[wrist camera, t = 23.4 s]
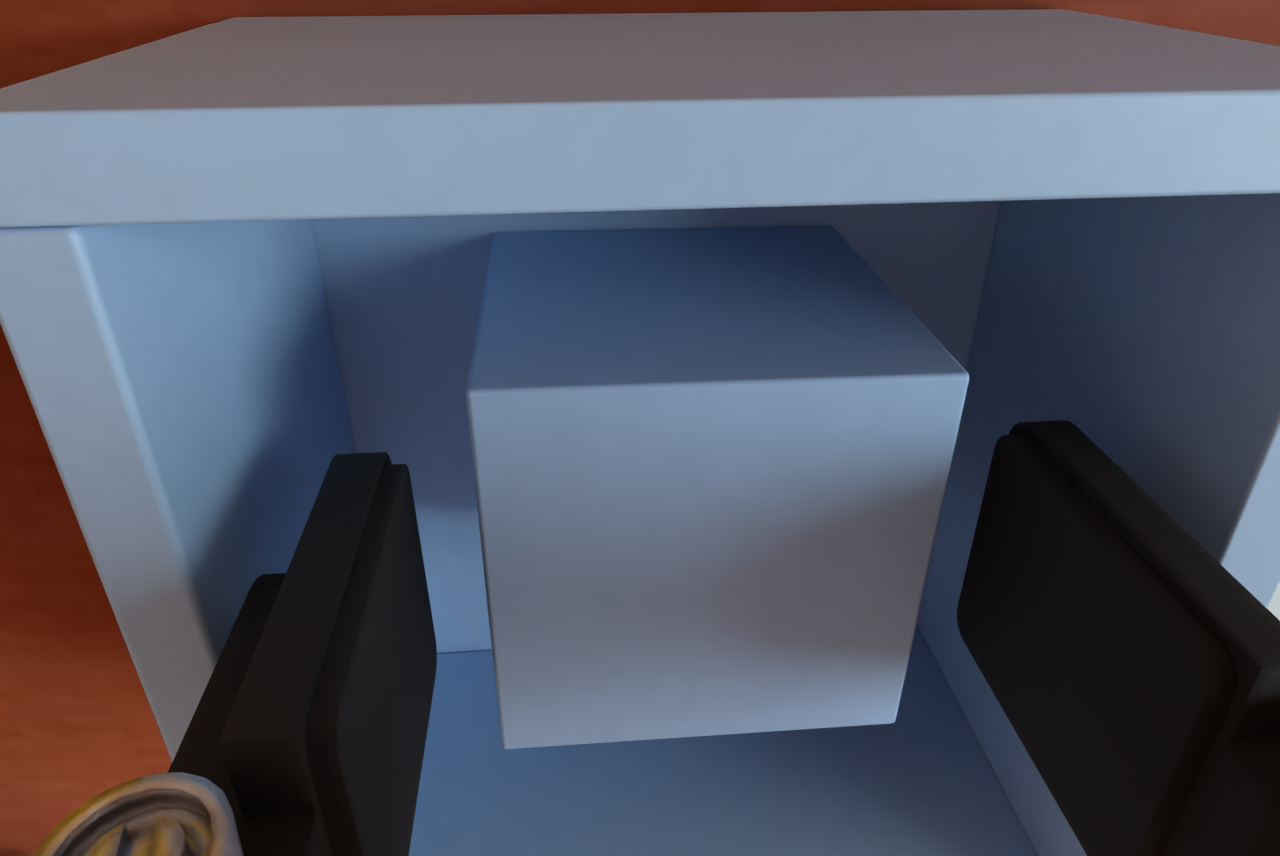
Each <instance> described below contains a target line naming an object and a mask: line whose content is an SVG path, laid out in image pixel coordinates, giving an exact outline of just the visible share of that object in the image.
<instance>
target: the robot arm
mask: <svg viewBox="0 0 1280 856" xmlns="http://www.w3.org/2000/svg"><path fill="white" fill-rule="evenodd" d="M957 623H958V628H959V632H960V635H961V637H962V639H963V641H964V643H965V645H966V646H967V648H968V650H969V652H970V653H971V655H972V657H973V659H974V660H975V662H976V664H977V665H978V667H979V669H980V671H981V672H982V674H983V676H984V678H985V679H986V681H987V683H988V685H989V686H990V688H991V690H992V692H993V693H994V695H995V697H996V698H997V700H998V702H999V704H1000V705H1001V707H1002V709H1003V711H1004V712H1005V714H1006V716H1007V718H1008V719H1009V721H1010V723H1011V724H1012V726H1013V728H1014V730H1015V731H1016V733H1017V735H1018V737H1019V738H1020V740H1021V742H1022V744H1023V745H1024V747H1025V749H1026V750H1027V752H1028V754H1029V756H1030V757H1031V759H1032V761H1033V763H1034V764H1035V766H1036V768H1037V770H1038V771H1039V773H1040V775H1041V777H1042V778H1043V780H1044V782H1045V783H1046V785H1047V787H1048V789H1049V790H1050V792H1051V794H1052V796H1053V797H1054V799H1055V801H1056V803H1057V804H1058V806H1059V808H1060V809H1061V811H1062V813H1063V815H1064V816H1065V818H1066V820H1067V822H1068V823H1069V825H1070V827H1071V829H1072V830H1073V832H1074V834H1075V835H1076V837H1077V839H1078V841H1079V842H1080V844H1081V846H1082V848H1083V849H1084V851H1085V853H1086V855H1087V856H1280V621H1279V620H1278V619H1277V618H1276V617H1275V616H1274V615H1273V614H1272V613H1271V612H1270V611H1269V610H1268V609H1267V608H1266V607H1265V606H1264V605H1263V604H1262V603H1260V602H1259V601H1258V600H1257V599H1256V598H1255V597H1254V596H1253V595H1252V594H1251V593H1250V592H1249V591H1248V590H1247V589H1246V588H1245V587H1244V586H1243V585H1242V584H1241V583H1240V582H1239V581H1238V580H1236V579H1235V578H1234V577H1233V576H1232V575H1231V574H1230V573H1229V572H1228V571H1227V570H1226V569H1225V568H1224V567H1223V566H1222V565H1221V564H1220V563H1219V562H1218V561H1217V560H1216V559H1215V558H1214V557H1212V556H1211V555H1210V554H1209V553H1208V552H1207V551H1206V550H1205V549H1204V548H1203V547H1202V546H1201V545H1200V544H1199V543H1198V542H1197V541H1196V540H1195V539H1194V538H1193V537H1192V536H1191V535H1190V534H1188V533H1187V532H1186V531H1185V530H1184V529H1183V528H1182V527H1181V526H1180V525H1179V524H1178V523H1177V522H1176V521H1175V520H1174V519H1173V518H1172V517H1171V516H1170V515H1169V514H1168V513H1167V512H1166V511H1164V510H1163V509H1162V508H1161V507H1160V506H1159V505H1158V504H1157V503H1156V502H1155V501H1154V500H1153V499H1152V498H1151V497H1150V496H1149V495H1148V494H1147V493H1146V492H1145V491H1144V490H1143V489H1142V488H1140V487H1139V486H1138V485H1137V484H1136V483H1135V482H1134V481H1133V480H1132V479H1131V478H1130V477H1129V476H1128V475H1127V474H1126V473H1125V472H1124V471H1123V470H1122V469H1121V468H1120V467H1119V466H1118V465H1116V464H1115V463H1114V462H1113V461H1112V460H1111V459H1110V458H1109V457H1108V456H1107V455H1106V454H1105V453H1104V452H1103V451H1102V450H1101V449H1100V448H1099V447H1098V446H1097V445H1096V444H1095V443H1094V442H1092V441H1091V440H1090V439H1089V438H1088V437H1087V436H1086V435H1085V434H1084V433H1083V432H1082V431H1081V430H1080V429H1079V428H1078V427H1077V426H1076V425H1075V424H1073V423H1072V422H1070V421H1067V420H1055V421H1035V422H1019V423H1017V424H1015V425H1014V426H1013V428H1012V429H1011V430H1010V432H1009V435H1003V436H1001V437H1000V438H999V439H998V440H997V442H996V445H995V448H994V452H993V456H992V460H991V465H990V469H989V473H988V478H987V482H986V486H985V490H984V495H983V499H982V503H981V508H980V512H979V516H978V520H977V525H976V529H975V533H974V538H973V542H972V546H971V551H970V555H969V559H968V563H967V568H966V572H965V576H964V581H963V585H962V589H961V593H960V598H959V602H958V607H957ZM436 668H437V648H436V638H435V632H434V625H433V619H432V613H431V606H430V600H429V593H428V587H427V581H426V574H425V568H424V562H423V555H422V549H421V542H420V536H419V530H418V523H417V517H416V511H415V504H414V498H413V491H412V485H411V479H410V473H409V469H408V466H407V465H406V464H392V463H391V460H390V457H389V455H388V453H387V452H374V453H353V454H337V455H334V457H333V459H332V460H331V463H330V465H329V468H328V470H327V473H326V475H325V478H324V480H323V483H322V485H321V488H320V490H319V493H318V495H317V498H316V500H315V503H314V505H313V508H312V510H311V513H310V515H309V518H308V520H307V522H306V525H305V527H304V530H303V532H302V535H301V537H300V540H299V542H298V545H297V547H296V550H295V552H294V555H293V557H292V560H291V562H290V565H289V567H288V570H287V572H286V573H275V574H262V575H261V576H259V577H258V578H256V580H255V581H254V583H253V584H252V586H251V588H250V590H249V592H248V594H247V596H246V599H245V601H244V603H243V605H242V608H241V610H240V612H239V614H238V617H237V619H236V621H235V623H234V626H233V628H232V630H231V632H230V635H229V637H228V639H227V641H226V643H225V646H224V648H223V650H222V652H221V655H220V657H219V659H218V661H217V664H216V666H215V668H214V670H213V673H212V675H211V677H210V679H209V681H208V684H207V686H206V688H205V690H204V693H203V695H202V697H201V699H200V702H199V704H198V706H197V708H196V711H195V713H194V715H193V717H192V720H191V722H190V724H189V726H188V728H187V731H186V733H185V735H184V737H183V740H182V742H181V744H180V746H179V749H178V751H177V753H176V755H175V758H174V760H173V762H172V764H171V766H170V769H169V771H168V773H156V774H150V775H147V776H143V777H140V778H136V779H133V780H129V781H126V782H122V783H120V784H118V785H116V786H114V787H112V788H110V789H108V790H106V791H104V792H102V793H100V794H98V795H96V796H94V797H92V798H91V799H89V800H88V801H87V802H85V803H84V804H83V805H81V806H80V807H79V808H77V809H76V810H75V811H73V812H72V813H70V814H69V815H68V816H66V817H65V818H64V819H63V820H62V821H61V822H60V823H59V824H58V825H57V826H56V827H55V828H54V829H53V830H52V832H51V833H50V834H49V835H48V836H47V837H46V838H45V839H44V840H43V841H42V842H41V843H40V845H39V846H38V848H37V850H36V852H35V853H34V855H33V856H409V850H410V843H411V836H412V830H413V823H414V816H415V810H416V803H417V796H418V790H419V783H420V777H421V770H422V763H423V757H424V750H425V743H426V737H427V730H428V723H429V717H430V710H431V703H432V697H433V690H434V683H435V677H436Z"/></svg>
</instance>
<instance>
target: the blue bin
mask: <svg viewBox="0 0 1280 856" xmlns="http://www.w3.org/2000/svg"><path fill="white" fill-rule="evenodd" d="M791 226H832V227H834V228H835V229H836V231H837V232H838V233H839V234H840V235H841V236H842V237H843V238H844V239H845V240H846V241H847V242H848V243H849V245H850V246H851V247H852V248H853V249H854V250H855V251H856V252H857V253H858V254H859V255H860V256H861V258H862V259H863V260H864V261H865V262H866V263H867V264H868V265H869V266H870V267H871V268H872V269H873V271H874V272H875V273H876V274H877V275H878V276H879V277H880V278H881V279H882V280H883V281H884V282H885V283H886V285H887V286H888V287H889V288H890V289H891V290H892V291H893V292H894V293H895V294H896V295H897V296H898V298H899V299H900V300H901V301H902V302H903V303H904V304H905V305H906V306H907V307H908V308H909V309H910V311H911V312H912V313H913V314H914V315H915V316H916V317H917V318H918V319H919V320H920V321H921V322H922V323H923V325H924V326H925V327H926V328H927V329H928V330H929V331H930V332H931V333H932V334H933V335H934V336H935V338H936V339H937V340H938V341H939V342H940V343H941V344H942V345H943V346H944V347H945V348H946V349H947V351H948V352H949V353H950V354H951V355H952V356H953V357H954V358H955V359H956V360H957V361H958V362H959V364H960V365H961V366H962V367H963V368H964V369H965V370H966V371H967V372H968V374H969V383H968V387H967V392H966V397H965V401H964V406H963V410H962V415H961V420H960V424H959V429H958V434H957V438H956V443H955V447H954V452H953V457H952V461H951V466H950V471H949V475H948V480H947V485H946V489H945V494H944V498H943V503H942V508H941V512H940V517H939V522H938V526H937V531H936V535H935V540H934V545H933V549H932V554H931V559H930V563H929V568H928V572H927V577H926V582H925V586H924V591H923V596H922V600H921V605H920V610H919V614H918V619H917V623H916V628H915V633H914V637H913V642H912V647H911V651H910V656H909V660H908V665H907V670H906V674H905V679H904V684H903V688H902V693H901V697H900V702H899V707H898V711H897V716H896V721H895V722H894V723H892V724H877V725H862V726H847V727H832V728H817V729H802V730H787V731H772V732H757V733H742V734H727V735H713V736H698V737H683V738H668V739H653V740H638V741H623V742H608V743H593V744H578V745H563V746H548V747H533V748H518V749H504V748H503V746H502V743H501V733H500V723H499V713H498V704H497V694H496V684H495V675H494V665H493V655H492V645H491V636H490V626H489V616H488V607H487V597H486V587H485V577H484V568H483V558H482V548H481V539H480V529H479V519H478V509H477V500H476V490H475V480H474V471H473V461H472V451H471V441H470V432H469V422H468V412H467V403H466V390H467V384H468V378H469V372H470V367H471V361H472V355H473V350H474V344H475V338H476V333H477V327H478V321H479V315H480V310H481V304H482V298H483V293H484V287H485V281H486V275H487V270H488V264H489V258H490V253H491V247H492V241H493V236H494V234H495V233H497V232H542V231H592V230H642V229H691V228H741V227H791ZM0 324H1V327H2V329H3V332H4V334H5V337H6V340H7V342H8V345H9V347H10V350H11V352H12V355H13V357H14V360H15V362H16V365H17V368H18V370H19V373H20V375H21V378H22V380H23V383H24V385H25V388H26V391H27V393H28V396H29V398H30V401H31V403H32V406H33V408H34V411H35V413H36V416H37V419H38V421H39V424H40V426H41V429H42V431H43V434H44V436H45V439H46V441H47V444H48V447H49V449H50V452H51V454H52V457H53V459H54V462H55V464H56V467H57V470H58V472H59V475H60V477H61V480H62V482H63V485H64V487H65V490H66V492H67V495H68V498H69V500H70V503H71V505H72V508H73V510H74V513H75V515H76V518H77V520H78V523H79V526H80V528H81V531H82V533H83V536H84V538H85V541H86V543H87V546H88V549H89V551H90V554H91V556H92V559H93V561H94V564H95V566H96V569H97V571H98V574H99V577H100V579H101V582H102V584H103V587H104V589H105V592H106V594H107V597H108V599H109V602H110V605H111V607H112V610H113V612H114V615H115V617H116V620H117V622H118V625H119V628H120V630H121V633H122V635H123V638H124V640H125V643H126V645H127V648H128V650H129V653H130V656H131V658H132V661H133V663H134V666H135V668H136V671H137V673H138V676H139V678H140V681H141V684H142V686H143V689H144V691H145V694H146V696H147V699H148V701H149V704H150V707H151V709H152V712H153V714H154V717H155V719H156V722H157V724H158V727H159V729H160V732H161V735H162V737H163V740H164V742H165V745H166V747H167V750H168V752H169V755H170V757H171V760H172V762H173V760H174V758H175V755H176V753H177V751H178V749H179V746H180V744H181V742H182V740H183V737H184V735H185V733H186V731H187V728H188V726H189V724H190V722H191V720H192V717H193V715H194V713H195V711H196V708H197V706H198V704H199V702H200V699H201V697H202V695H203V693H204V690H205V688H206V686H207V684H208V681H209V679H210V677H211V675H212V673H213V670H214V668H215V666H216V664H217V661H218V659H219V657H220V655H221V652H222V650H223V648H224V646H225V643H226V641H227V639H228V637H229V635H230V632H231V630H232V628H233V626H234V623H235V621H236V619H237V617H238V614H239V612H240V610H241V608H242V605H243V603H244V601H245V599H246V596H247V594H248V592H249V590H250V588H251V586H252V584H253V583H254V581H255V580H256V578H258V577H259V576H261V575H262V574H275V573H286V572H287V570H288V567H289V565H290V562H291V560H292V557H293V555H294V552H295V550H296V547H297V545H298V542H299V540H300V537H301V535H302V532H303V530H304V527H305V525H306V522H307V520H308V518H309V515H310V513H311V510H312V508H313V505H314V503H315V500H316V498H317V495H318V493H319V490H320V488H321V485H322V483H323V480H324V478H325V475H326V473H327V470H328V468H329V465H330V463H331V460H332V459H333V457H334V455H337V454H353V453H374V452H387V453H388V455H389V457H390V460H391V463H392V464H406V465H407V466H408V469H409V473H410V479H411V485H412V491H413V498H414V504H415V511H416V517H417V523H418V530H419V536H420V542H421V549H422V555H423V562H424V568H425V574H426V581H427V587H428V593H429V600H430V606H431V613H432V619H433V625H434V632H435V638H436V648H437V668H436V677H435V683H434V690H433V697H432V703H431V710H430V717H429V723H428V730H427V737H426V743H425V750H424V757H423V763H422V770H421V777H420V783H419V790H418V796H417V803H416V810H415V816H414V823H413V830H412V836H411V843H410V850H409V856H1087V855H1086V853H1085V851H1084V849H1083V848H1082V846H1081V844H1080V842H1079V841H1078V839H1077V837H1076V835H1075V834H1074V832H1073V830H1072V829H1071V827H1070V825H1069V823H1068V822H1067V820H1066V818H1065V816H1064V815H1063V813H1062V811H1061V809H1060V808H1059V806H1058V804H1057V803H1056V801H1055V799H1054V797H1053V796H1052V794H1051V792H1050V790H1049V789H1048V787H1047V785H1046V783H1045V782H1044V780H1043V778H1042V777H1041V775H1040V773H1039V771H1038V770H1037V768H1036V766H1035V764H1034V763H1033V761H1032V759H1031V757H1030V756H1029V754H1028V752H1027V750H1026V749H1025V747H1024V745H1023V744H1022V742H1021V740H1020V738H1019V737H1018V735H1017V733H1016V731H1015V730H1014V728H1013V726H1012V724H1011V723H1010V721H1009V719H1008V718H1007V716H1006V714H1005V712H1004V711H1003V709H1002V707H1001V705H1000V704H999V702H998V700H997V698H996V697H995V695H994V693H993V692H992V690H991V688H990V686H989V685H988V683H987V681H986V679H985V678H984V676H983V674H982V672H981V671H980V669H979V667H978V665H977V664H976V662H975V660H974V659H973V657H972V655H971V653H970V652H969V650H968V648H967V646H966V645H965V643H964V641H963V639H962V637H961V635H960V632H959V628H958V623H957V607H958V602H959V598H960V593H961V589H962V585H963V581H964V576H965V572H966V568H967V563H968V559H969V555H970V551H971V546H972V542H973V538H974V533H975V529H976V525H977V520H978V516H979V512H980V508H981V503H982V499H983V495H984V490H985V486H986V482H987V478H988V473H989V469H990V465H991V460H992V456H993V452H994V448H995V445H996V442H997V440H998V439H999V438H1000V437H1001V436H1003V435H1009V432H1010V430H1011V429H1012V428H1013V426H1014V425H1015V424H1017V423H1019V422H1035V421H1055V420H1067V421H1070V422H1072V423H1073V424H1075V425H1076V426H1077V427H1078V428H1079V429H1080V430H1081V431H1082V432H1083V433H1084V434H1085V435H1086V436H1087V437H1088V438H1089V439H1090V440H1091V441H1092V442H1094V443H1095V444H1096V445H1097V446H1098V447H1099V448H1100V449H1101V450H1102V451H1103V452H1104V453H1105V454H1106V455H1107V456H1108V457H1109V458H1110V459H1111V460H1112V461H1113V462H1114V463H1115V464H1116V465H1118V466H1119V467H1120V468H1121V469H1122V470H1123V471H1124V472H1125V473H1126V474H1127V475H1128V476H1129V477H1130V478H1131V479H1132V480H1133V481H1134V482H1135V483H1136V484H1137V485H1138V486H1139V487H1140V488H1142V489H1143V490H1144V491H1145V492H1146V493H1147V494H1148V495H1149V496H1150V497H1151V498H1152V499H1153V500H1154V501H1155V502H1156V503H1157V504H1158V505H1159V506H1160V507H1161V508H1162V509H1163V510H1164V511H1166V512H1167V513H1168V514H1169V515H1170V516H1171V517H1172V518H1173V519H1174V520H1175V521H1176V522H1177V523H1178V524H1179V525H1180V526H1181V527H1182V528H1183V529H1184V530H1185V531H1186V532H1187V533H1188V534H1190V535H1191V536H1192V537H1193V538H1194V539H1195V540H1196V541H1197V542H1198V543H1199V544H1200V545H1201V546H1202V547H1203V548H1204V549H1205V550H1206V551H1207V552H1208V553H1209V554H1210V555H1211V556H1212V557H1214V558H1215V559H1216V560H1217V561H1218V562H1219V563H1220V564H1221V565H1222V566H1223V567H1224V568H1225V569H1226V570H1227V571H1228V572H1229V573H1230V574H1231V575H1232V576H1233V577H1234V578H1235V579H1236V580H1238V581H1239V582H1240V583H1241V584H1242V585H1243V586H1244V587H1245V588H1246V589H1247V590H1248V591H1249V592H1250V593H1251V594H1252V595H1253V596H1254V597H1255V598H1256V599H1257V600H1258V601H1259V602H1260V603H1262V604H1263V605H1264V606H1265V607H1266V608H1268V606H1269V604H1270V602H1271V599H1272V597H1273V595H1274V593H1275V591H1276V589H1277V586H1278V584H1279V582H1280V46H1274V45H1268V44H1262V43H1257V42H1251V41H1245V40H1239V39H1234V38H1228V37H1222V36H1216V35H1211V34H1205V33H1199V32H1193V31H1188V30H1182V29H1176V28H1170V27H1165V26H1159V25H1153V24H1147V23H1142V22H1136V21H1130V20H1124V19H1119V18H1113V17H1107V16H1101V15H1096V14H1086V13H1081V12H1076V11H1070V10H1064V9H1029V10H927V11H825V12H723V13H621V14H519V15H417V16H315V17H234V18H230V19H227V20H224V21H221V22H218V23H211V24H208V25H205V26H202V27H198V28H195V29H192V30H189V31H185V32H182V33H179V34H176V35H172V36H169V37H166V38H163V39H160V40H156V41H153V42H150V43H147V44H143V45H140V46H137V47H134V48H130V49H127V50H124V51H121V52H117V53H114V54H111V55H108V56H104V57H101V58H98V59H95V60H91V61H88V62H85V63H82V64H78V65H75V66H72V67H69V68H65V69H62V70H59V71H56V72H52V73H49V74H46V75H43V76H39V77H36V78H33V79H30V80H26V81H23V82H20V83H17V84H13V85H10V86H7V87H4V88H1V89H0Z"/></svg>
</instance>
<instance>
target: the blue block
mask: <svg viewBox="0 0 1280 856" xmlns="http://www.w3.org/2000/svg"><path fill="white" fill-rule="evenodd" d="M968 383H969V374H968V372H967V371H966V370H965V369H964V368H963V367H962V366H961V365H960V364H959V362H958V361H957V360H956V359H955V358H954V357H953V356H952V355H951V354H950V353H949V352H948V351H947V349H946V348H945V347H944V346H943V345H942V344H941V343H940V342H939V341H938V340H937V339H936V338H935V336H934V335H933V334H932V333H931V332H930V331H929V330H928V329H927V328H926V327H925V326H924V325H923V323H922V322H921V321H920V320H919V319H918V318H917V317H916V316H915V315H914V314H913V313H912V312H911V311H910V309H909V308H908V307H907V306H906V305H905V304H904V303H903V302H902V301H901V300H900V299H899V298H898V296H897V295H896V294H895V293H894V292H893V291H892V290H891V289H890V288H889V287H888V286H887V285H886V283H885V282H884V281H883V280H882V279H881V278H880V277H879V276H878V275H877V274H876V273H875V272H874V271H873V269H872V268H871V267H870V266H869V265H868V264H867V263H866V262H865V261H864V260H863V259H862V258H861V256H860V255H859V254H858V253H857V252H856V251H855V250H854V249H853V248H852V247H851V246H850V245H849V243H848V242H847V241H846V240H845V239H844V238H843V237H842V236H841V235H840V234H839V233H838V232H837V231H836V229H835V228H834V227H832V226H791V227H741V228H691V229H642V230H592V231H542V232H497V233H495V234H494V236H493V241H492V247H491V253H490V258H489V264H488V270H487V275H486V281H485V287H484V293H483V298H482V304H481V310H480V315H479V321H478V327H477V333H476V338H475V344H474V350H473V355H472V361H471V367H470V372H469V378H468V384H467V390H466V403H467V412H468V422H469V432H470V441H471V451H472V461H473V471H474V480H475V490H476V500H477V509H478V519H479V529H480V539H481V548H482V558H483V568H484V577H485V587H486V597H487V607H488V616H489V626H490V636H491V645H492V655H493V665H494V675H495V684H496V694H497V704H498V713H499V723H500V733H501V743H502V746H503V748H504V749H518V748H533V747H548V746H563V745H578V744H593V743H608V742H623V741H638V740H653V739H668V738H683V737H698V736H713V735H727V734H742V733H757V732H772V731H787V730H802V729H817V728H832V727H847V726H862V725H877V724H892V723H894V722H895V721H896V716H897V711H898V707H899V702H900V697H901V693H902V688H903V684H904V679H905V674H906V670H907V665H908V660H909V656H910V651H911V647H912V642H913V637H914V633H915V628H916V623H917V619H918V614H919V610H920V605H921V600H922V596H923V591H924V586H925V582H926V577H927V572H928V568H929V563H930V559H931V554H932V549H933V545H934V540H935V535H936V531H937V526H938V522H939V517H940V512H941V508H942V503H943V498H944V494H945V489H946V485H947V480H948V475H949V471H950V466H951V461H952V457H953V452H954V447H955V443H956V438H957V434H958V429H959V424H960V420H961V415H962V410H963V406H964V401H965V397H966V392H967V387H968Z"/></svg>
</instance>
